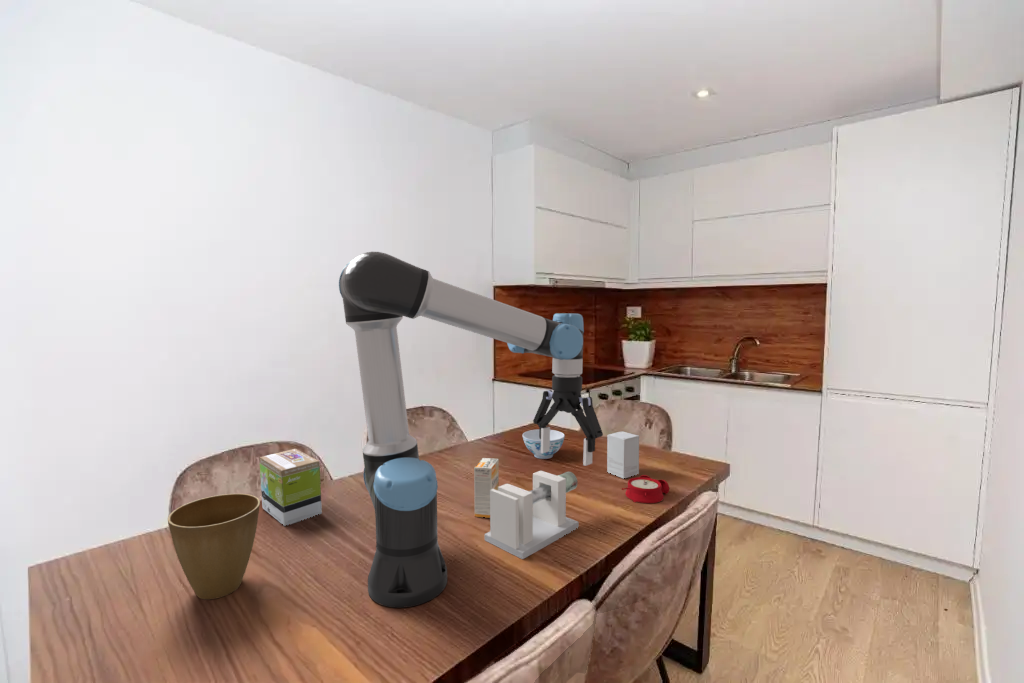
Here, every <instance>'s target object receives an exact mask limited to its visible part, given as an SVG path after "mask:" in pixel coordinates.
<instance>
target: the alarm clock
mask: <svg viewBox="0 0 1024 683" xmlns="http://www.w3.org/2000/svg"><path fill="white" fill-rule="evenodd" d="M621 490H622V491H623V490H625V493H624V494H625V497H626V498H627V499H629V500H631V501H632V502H633V503H640V504H641V503H642V504H656V503H660V502H661V501H663V500H664V495H665V496H666V495H668V494H669V493H670V485H669V482H668V481H666V480H665V479H654V478H652V477H650V476H649V475H647V474H642V475H640V476H637V477H632V478H631V477H630V479H628V480H627V487H624V488H621ZM663 493H664V494H663Z"/></svg>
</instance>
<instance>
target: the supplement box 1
mask: <svg viewBox="0 0 1024 683" xmlns="http://www.w3.org/2000/svg"><path fill="white" fill-rule="evenodd" d="M499 460H500V459H499V458H488V457H487V458H486V457H482V458H481V459H480V460H479V462H477V463H476V465H475V466H474V468H473V470H474V471H473V473H474V474H473V478H474V481H473V484H474V489H473V490H474V517H476V518H483V517H485V518H486V519H490V490H491V489H495V490H498V487H499V486H500V484H499V471H500V470H499V467H500V466H499V462H500V461H499Z"/></svg>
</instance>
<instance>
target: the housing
mask: <svg viewBox="0 0 1024 683" xmlns="http://www.w3.org/2000/svg"><path fill="white" fill-rule="evenodd" d="M545 484H547V485H549V486H551V496H550V497H548V498H546V499H543V500H541V501H539V502H537V503H535V504H533V493H532V492H529V491H530V490H525V489H524V488H522V487H521V488H520V487H519V486H516V485H513V484H510V483H504V484H502V485H499V487H498V490H495V489H491V490H490V518H489V520H490V521H489V522H490V523H489V524H490V529H489V531H488V532H486V533H484V541H485V542H487V543H489V544H491V545H493V546H494V547H497V548H499V549H501V550H503V551H505V552H507V553H509V554H511V555H513V556H515V557H517V558H519V559H521V560H524V559H526V558H528V557H530V556H531V555H533V554H535V553H536V552H539V551H540V550H542V549H544V548H546V547H547V546H549V545H551V544H552V543H554V542H556V541H558V540H559V538H560V539H561V538H563V537H565V536H567V535H568V534H571V533H572V532H574V531H575V530H577V529H578V527H580V526H579V521H577V520H575V519H573V518H570V517H567V515H566V513H567V511H566V510H567V508H566V507H567V501H566V500H567V498H566V497H567V493H566V478H563V477H560V476H558V475H556V474H553V473H550V472H546V471H544V470H538V471H536V472H534V473H532V490H534V489H536V488H538V487H541V486H543V485H545ZM576 528H577V529H576ZM573 530H574V531H573ZM571 531H572V532H571ZM566 534H567V535H566ZM564 535H565V536H564Z"/></svg>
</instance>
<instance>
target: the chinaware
mask: <svg viewBox="0 0 1024 683" xmlns="http://www.w3.org/2000/svg"><path fill="white" fill-rule="evenodd" d="M565 436H566V435H565V434H564V433H563V432H561V431H559V430H555V429H550V451H549V452H545V453H541V439H540V438H539V429H537V428H536V429H530V430H527V431H525V432H523V433H522V439H523V442H524V444H525V447H526V449H527V450H529V452H530V453H532V454H533V456H534V457H535V458H537V459H539V460H544V459H545V460H547V459H551V458H553V456H554V455H555V454H556V453H557V452H558V451H560V449H561V448H562V446H563V443H564V440H565Z"/></svg>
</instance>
